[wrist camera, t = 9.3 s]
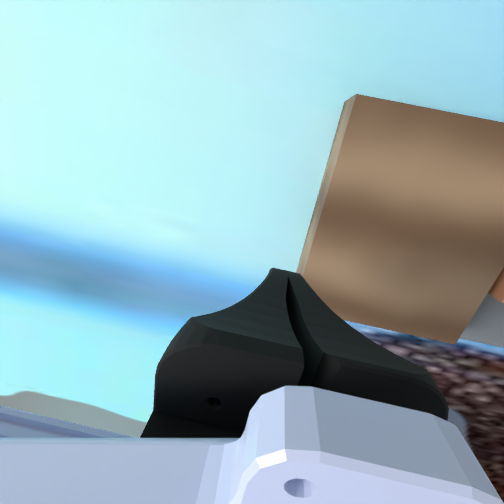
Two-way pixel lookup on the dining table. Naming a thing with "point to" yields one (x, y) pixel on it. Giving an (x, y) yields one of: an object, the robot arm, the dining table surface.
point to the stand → (408, 218)
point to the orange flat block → (498, 287)
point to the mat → (487, 323)
